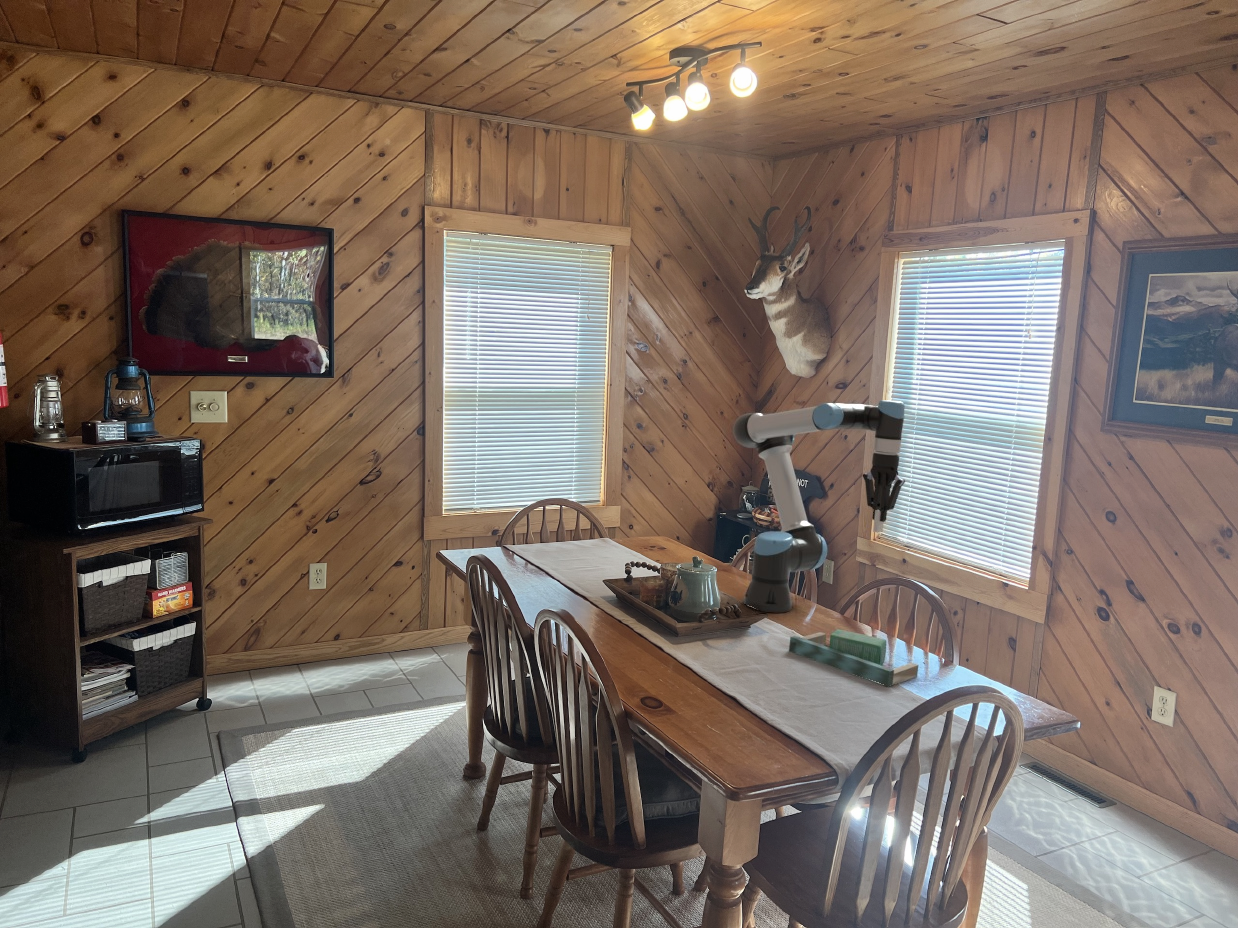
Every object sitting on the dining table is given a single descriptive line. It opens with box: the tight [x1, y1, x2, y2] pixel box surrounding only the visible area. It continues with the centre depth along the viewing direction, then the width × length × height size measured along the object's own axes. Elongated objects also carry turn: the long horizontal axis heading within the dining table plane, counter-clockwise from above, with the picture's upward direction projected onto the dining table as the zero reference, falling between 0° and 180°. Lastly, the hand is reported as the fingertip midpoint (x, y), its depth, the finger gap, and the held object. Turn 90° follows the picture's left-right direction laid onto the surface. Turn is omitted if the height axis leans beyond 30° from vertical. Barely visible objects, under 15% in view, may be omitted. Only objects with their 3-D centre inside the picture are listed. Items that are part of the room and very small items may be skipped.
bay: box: [788, 631, 919, 687], centre depth 231 cm, size 30×14×4 cm, turn 42°
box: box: [828, 628, 887, 666], centre depth 231 cm, size 7×14×8 cm, turn 62°
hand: (877, 531), depth 261 cm, fingers closed
